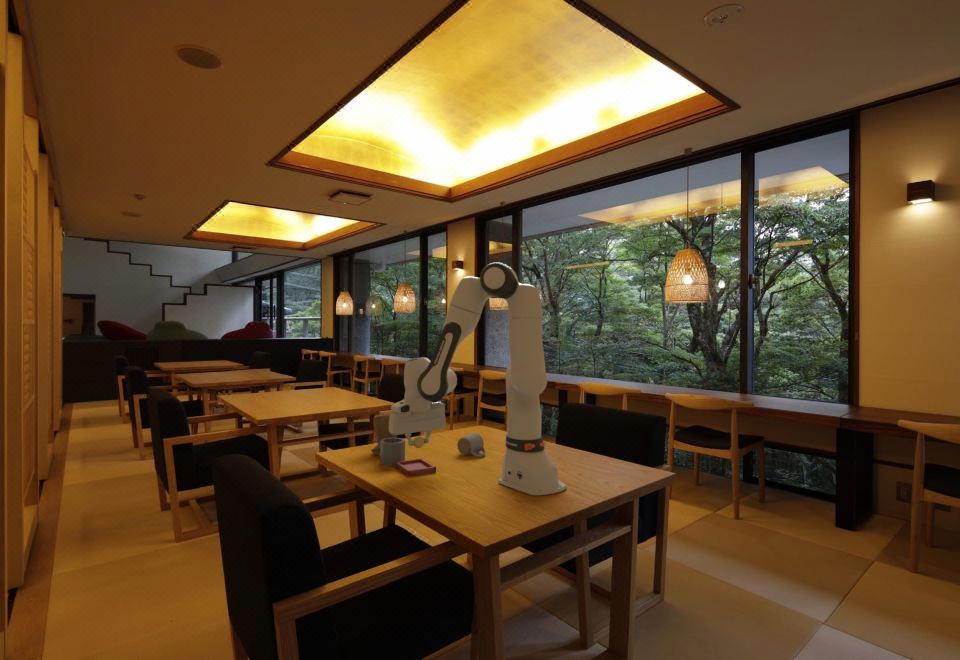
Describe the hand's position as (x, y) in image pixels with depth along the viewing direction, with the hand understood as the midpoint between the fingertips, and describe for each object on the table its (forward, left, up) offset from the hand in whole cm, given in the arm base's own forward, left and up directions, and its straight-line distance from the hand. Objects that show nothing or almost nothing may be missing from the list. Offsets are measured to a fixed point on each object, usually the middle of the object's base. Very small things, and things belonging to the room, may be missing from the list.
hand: (418, 444), depth 167 cm
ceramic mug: (+8, -27, -9) cm, 29 cm away
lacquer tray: (0, +1, -9) cm, 9 cm away
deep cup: (+12, +5, -9) cm, 16 cm away
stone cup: (+26, +2, -9) cm, 28 cm away
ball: (0, 0, +1) cm, 1 cm away
